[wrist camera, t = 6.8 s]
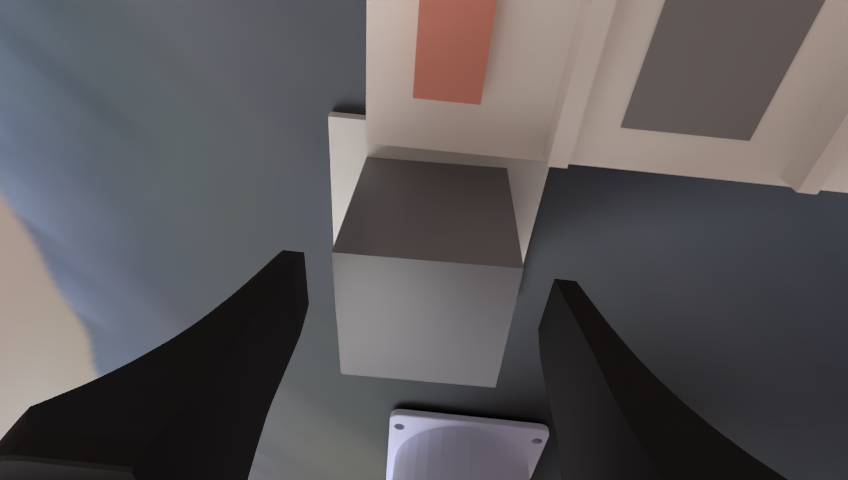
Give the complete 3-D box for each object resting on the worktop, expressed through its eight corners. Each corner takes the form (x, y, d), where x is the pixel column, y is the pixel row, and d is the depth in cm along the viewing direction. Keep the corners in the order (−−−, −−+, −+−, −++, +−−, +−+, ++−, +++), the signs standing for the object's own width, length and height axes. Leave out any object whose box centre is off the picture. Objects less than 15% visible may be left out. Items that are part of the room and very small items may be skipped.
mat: (511, 297, 19) (512, 304, 18) (337, 279, 19) (335, 286, 18) (554, 134, 14) (557, 140, 14) (331, 111, 14) (328, 116, 14)
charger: (506, 168, 15) (524, 268, 11) (487, 276, 17) (494, 389, 13) (366, 156, 15) (331, 252, 11) (368, 266, 18) (341, 375, 14)
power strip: (1027, 175, 14) (1286, 302, 10) (379, 108, 14) (341, 203, 10) (1226, -31, 11) (1754, 19, 6) (384, -115, 11) (332, -126, 7)
